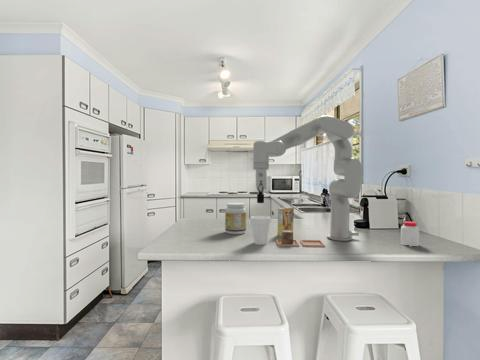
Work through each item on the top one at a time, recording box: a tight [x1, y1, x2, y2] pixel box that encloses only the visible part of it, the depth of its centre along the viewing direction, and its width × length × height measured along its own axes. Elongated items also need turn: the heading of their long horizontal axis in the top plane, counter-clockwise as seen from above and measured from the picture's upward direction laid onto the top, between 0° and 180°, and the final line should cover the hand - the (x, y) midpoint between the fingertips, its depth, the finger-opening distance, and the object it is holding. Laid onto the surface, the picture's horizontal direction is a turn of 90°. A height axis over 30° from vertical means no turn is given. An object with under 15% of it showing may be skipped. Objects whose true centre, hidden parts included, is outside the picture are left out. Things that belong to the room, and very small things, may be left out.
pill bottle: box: [400, 220, 420, 247], centre depth 143 cm, size 8×8×11 cm
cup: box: [250, 215, 272, 246], centre depth 143 cm, size 10×10×13 cm
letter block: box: [281, 230, 294, 244], centre depth 142 cm, size 5×5×6 cm
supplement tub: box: [224, 201, 247, 235], centre depth 168 cm, size 12×12×17 cm
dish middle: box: [275, 238, 300, 248], centre depth 142 cm, size 10×10×1 cm
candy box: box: [276, 206, 295, 237], centre depth 162 cm, size 9×4×15 cm, turn 129°
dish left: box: [299, 239, 326, 248], centre depth 141 cm, size 10×10×1 cm
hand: (260, 201), depth 142 cm, fingers open, 9 cm apart
